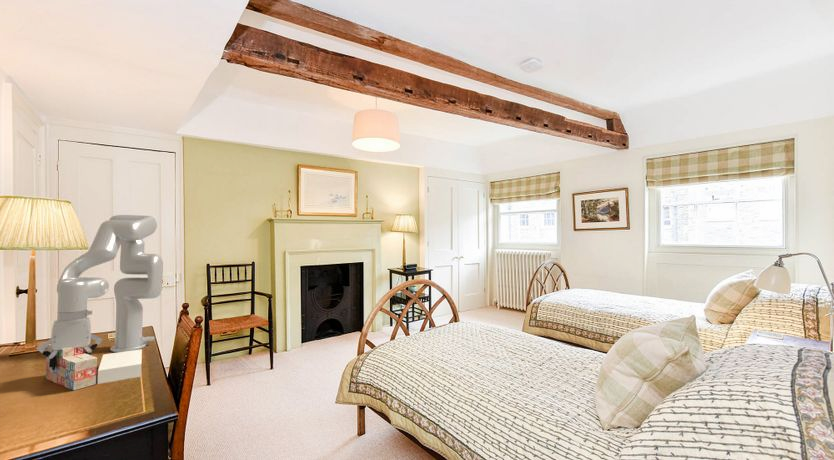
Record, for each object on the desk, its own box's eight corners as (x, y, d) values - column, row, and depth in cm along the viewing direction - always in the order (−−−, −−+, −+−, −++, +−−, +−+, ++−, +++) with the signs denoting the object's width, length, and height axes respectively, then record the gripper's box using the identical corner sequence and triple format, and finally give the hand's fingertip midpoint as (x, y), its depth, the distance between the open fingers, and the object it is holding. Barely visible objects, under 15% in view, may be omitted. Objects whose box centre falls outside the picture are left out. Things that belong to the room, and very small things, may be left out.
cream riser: (141, 361, 148) (141, 349, 148) (141, 377, 132) (141, 363, 132) (102, 367, 141) (103, 354, 141) (97, 385, 125) (97, 370, 125)
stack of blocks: (96, 384, 125) (97, 348, 125) (73, 391, 119) (74, 353, 119) (68, 372, 134) (69, 339, 134) (45, 378, 129) (46, 343, 129)
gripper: (104, 310, 136) (102, 358, 136) (37, 317, 124) (35, 369, 124) (105, 314, 131) (103, 363, 130) (35, 321, 119) (33, 375, 118)
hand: (70, 365), depth 127 cm, fingers closed on stack of blocks, 7 cm apart
